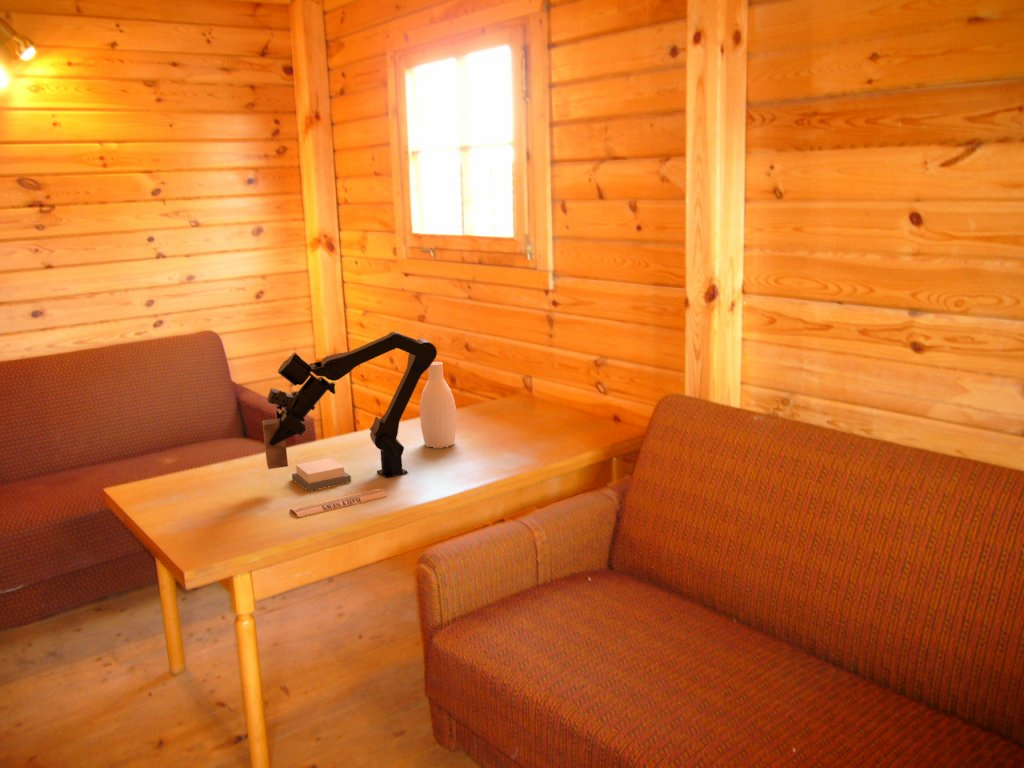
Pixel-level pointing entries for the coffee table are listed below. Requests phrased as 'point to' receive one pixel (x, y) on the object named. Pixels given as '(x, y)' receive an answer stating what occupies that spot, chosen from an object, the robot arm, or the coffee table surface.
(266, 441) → the walnut block
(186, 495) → the coffee table surface
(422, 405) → the bottle
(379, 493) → the newspaper
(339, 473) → the tower top slab
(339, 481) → the tower base slab
